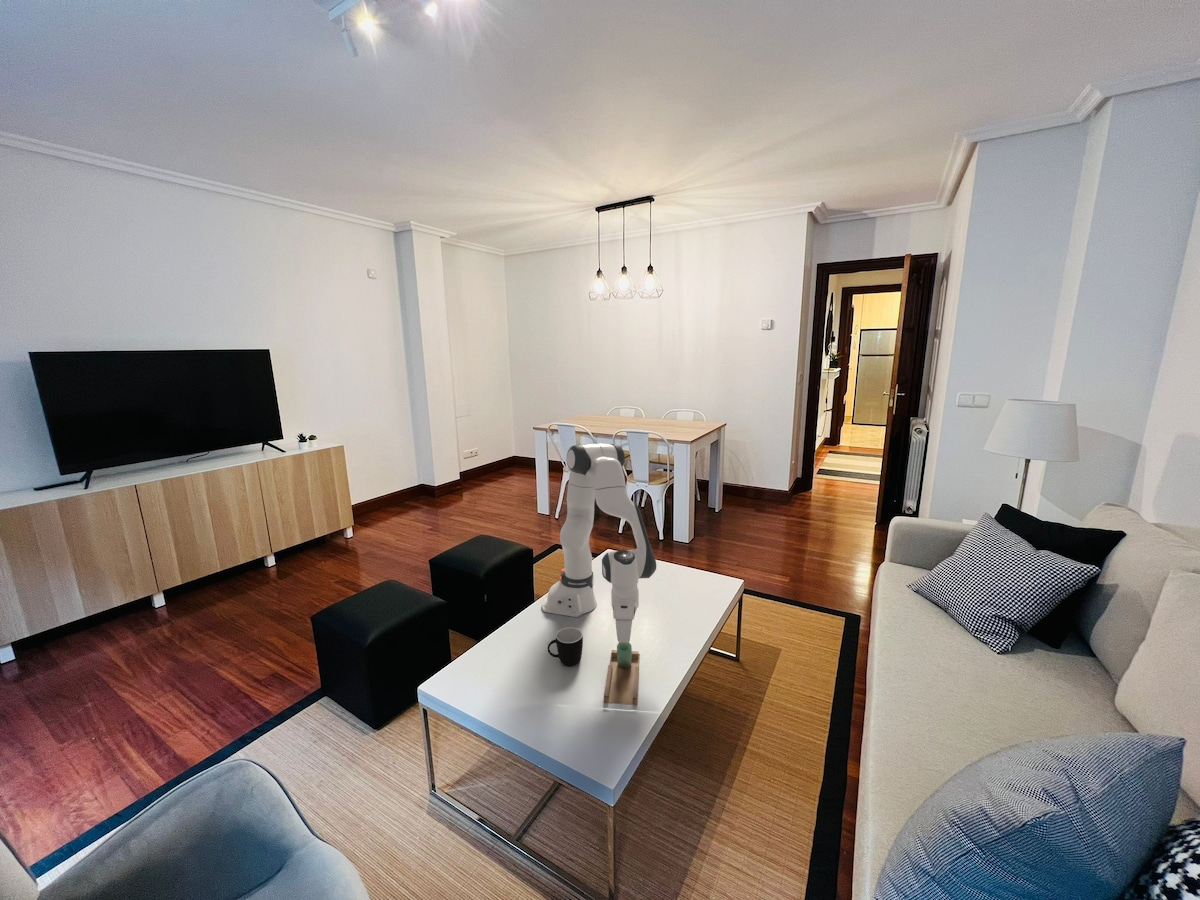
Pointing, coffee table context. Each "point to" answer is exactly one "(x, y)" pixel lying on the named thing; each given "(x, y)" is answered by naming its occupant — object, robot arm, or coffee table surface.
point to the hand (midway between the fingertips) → (625, 638)
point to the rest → (622, 681)
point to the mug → (568, 646)
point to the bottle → (624, 655)
